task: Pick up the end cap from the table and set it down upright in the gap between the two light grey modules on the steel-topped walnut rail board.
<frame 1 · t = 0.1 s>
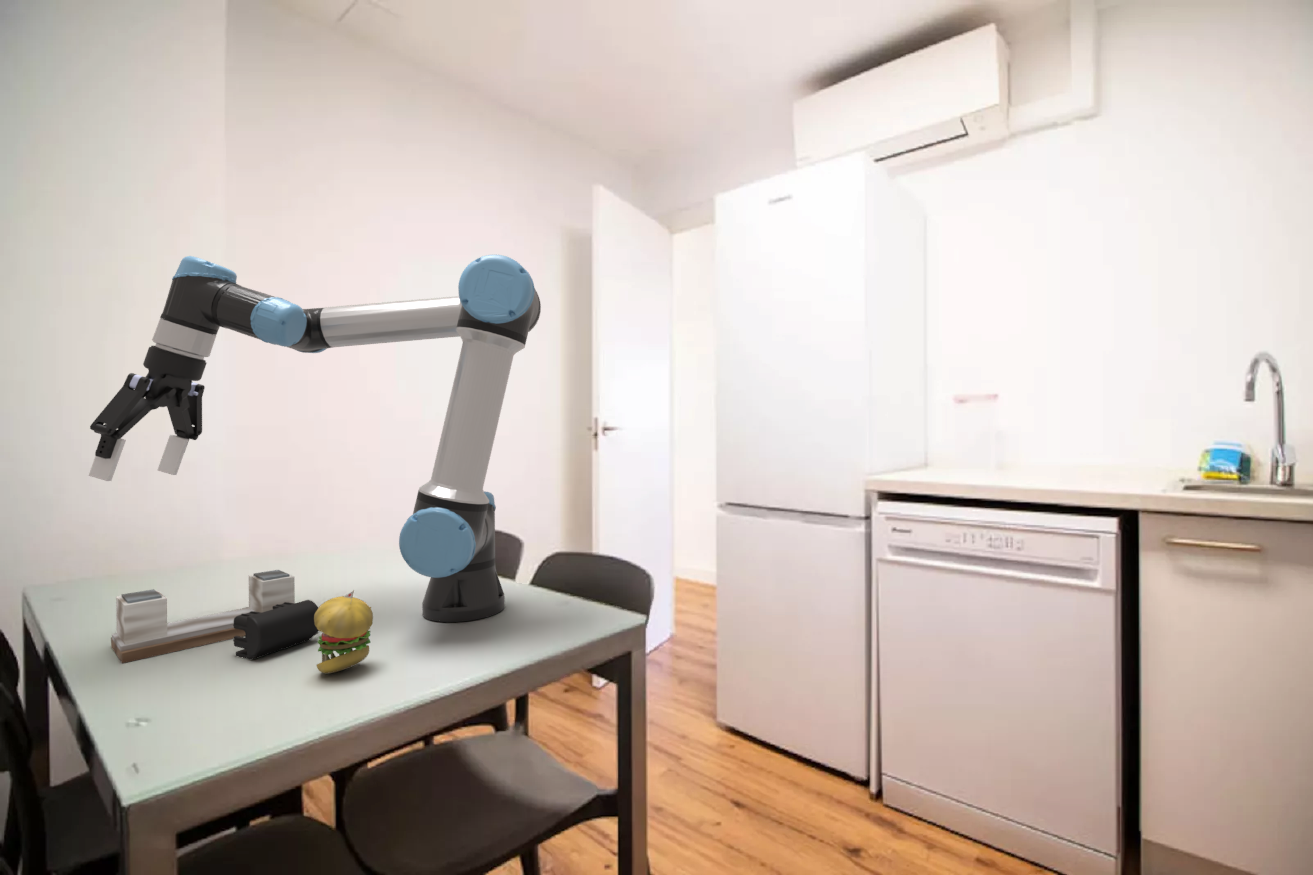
hand: (135, 475, 94), 28 cm above the table, tool tilted 20°, fingers open, 13 cm apart
hamburger: (344, 673, 83), on the table
end cap: (278, 650, 92), on the table
rail board: (211, 634, 99), on the table
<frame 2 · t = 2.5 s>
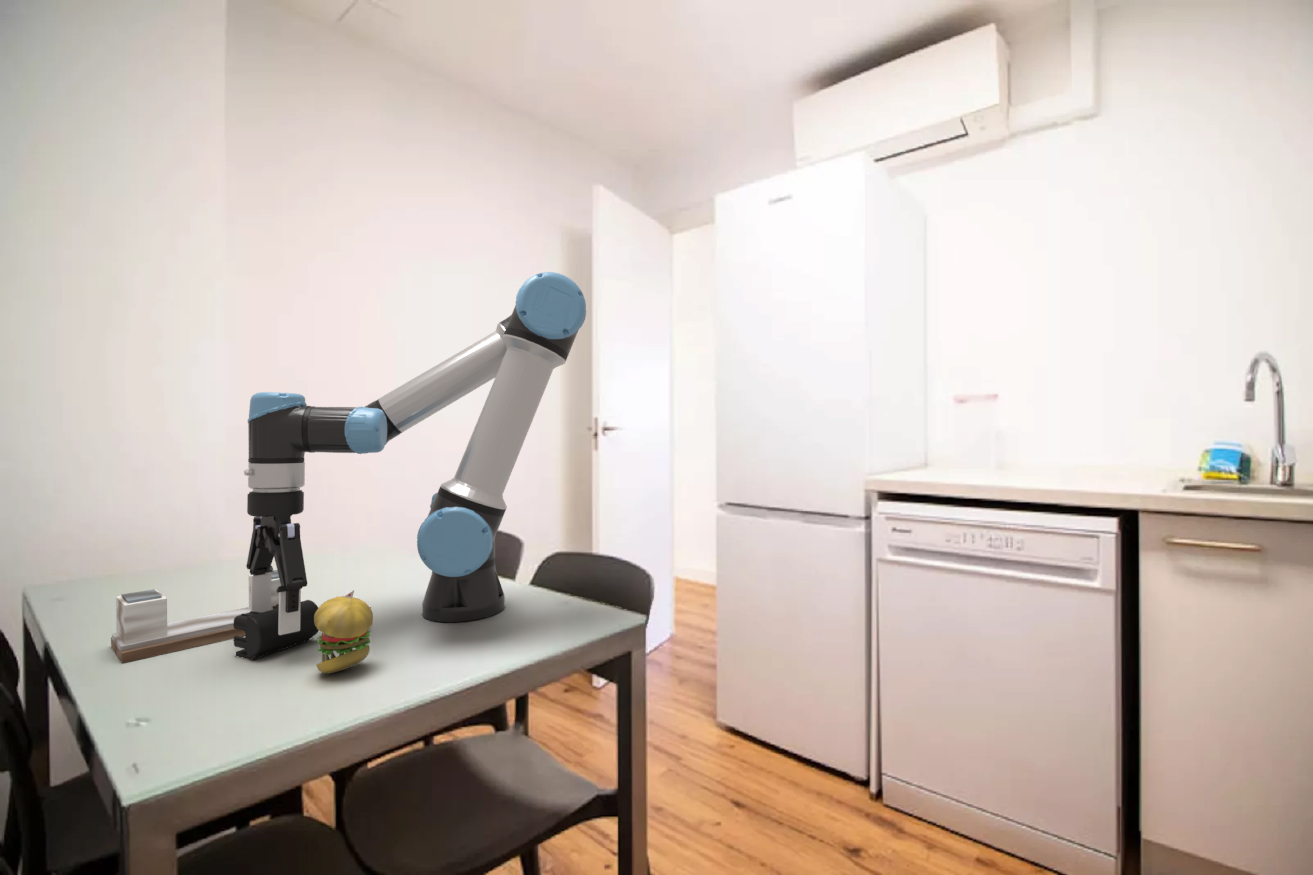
hand: (274, 623, 92), 4 cm above the table, tool pointing down, fingers open, 13 cm apart
nothing on the table moved.
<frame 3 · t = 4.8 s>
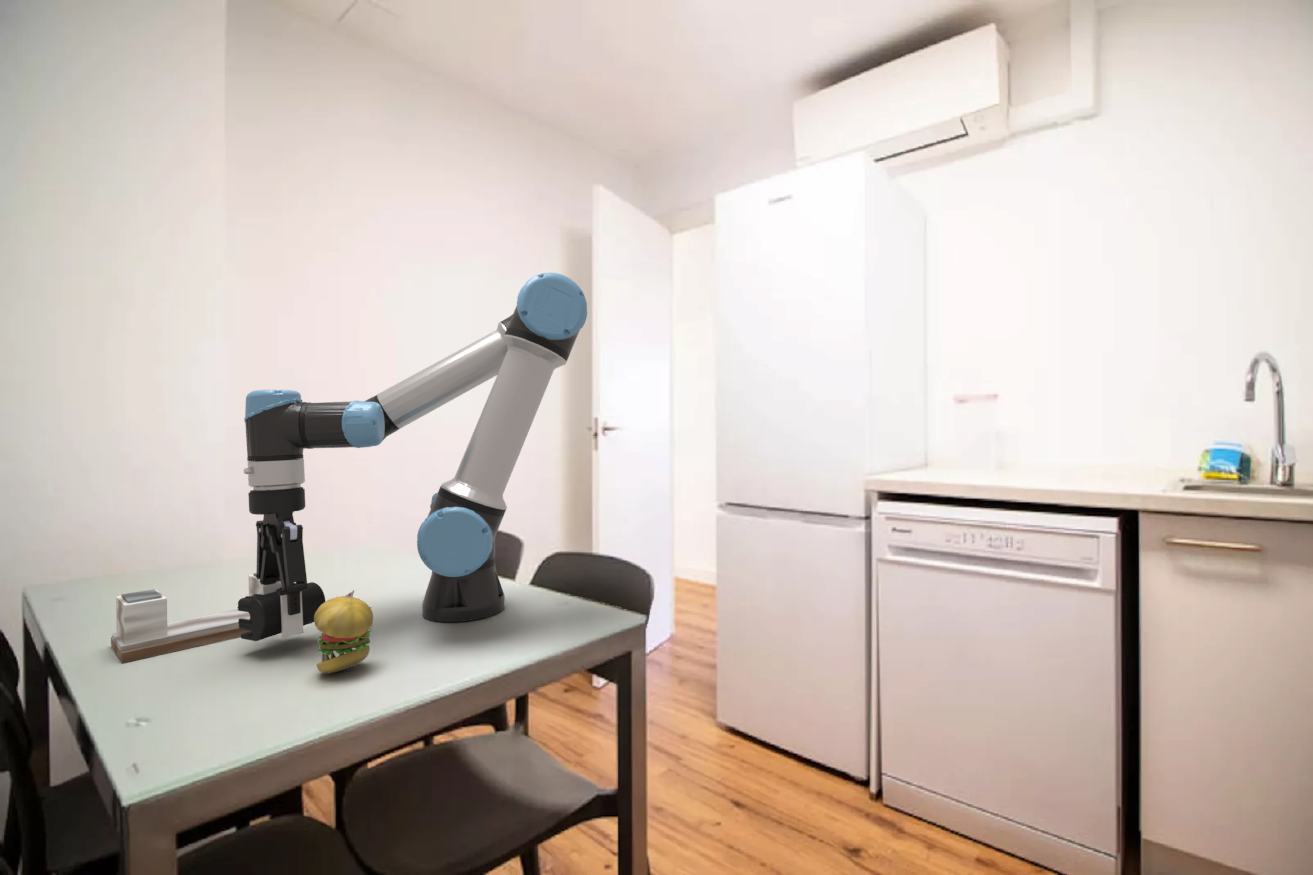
hand: (282, 628, 92), 3 cm above the table, tool pointing down, fingers closed on end cap, 8 cm apart
end cap: (283, 632, 92), point 2 cm above the table, touching gripper
everything else where it was.
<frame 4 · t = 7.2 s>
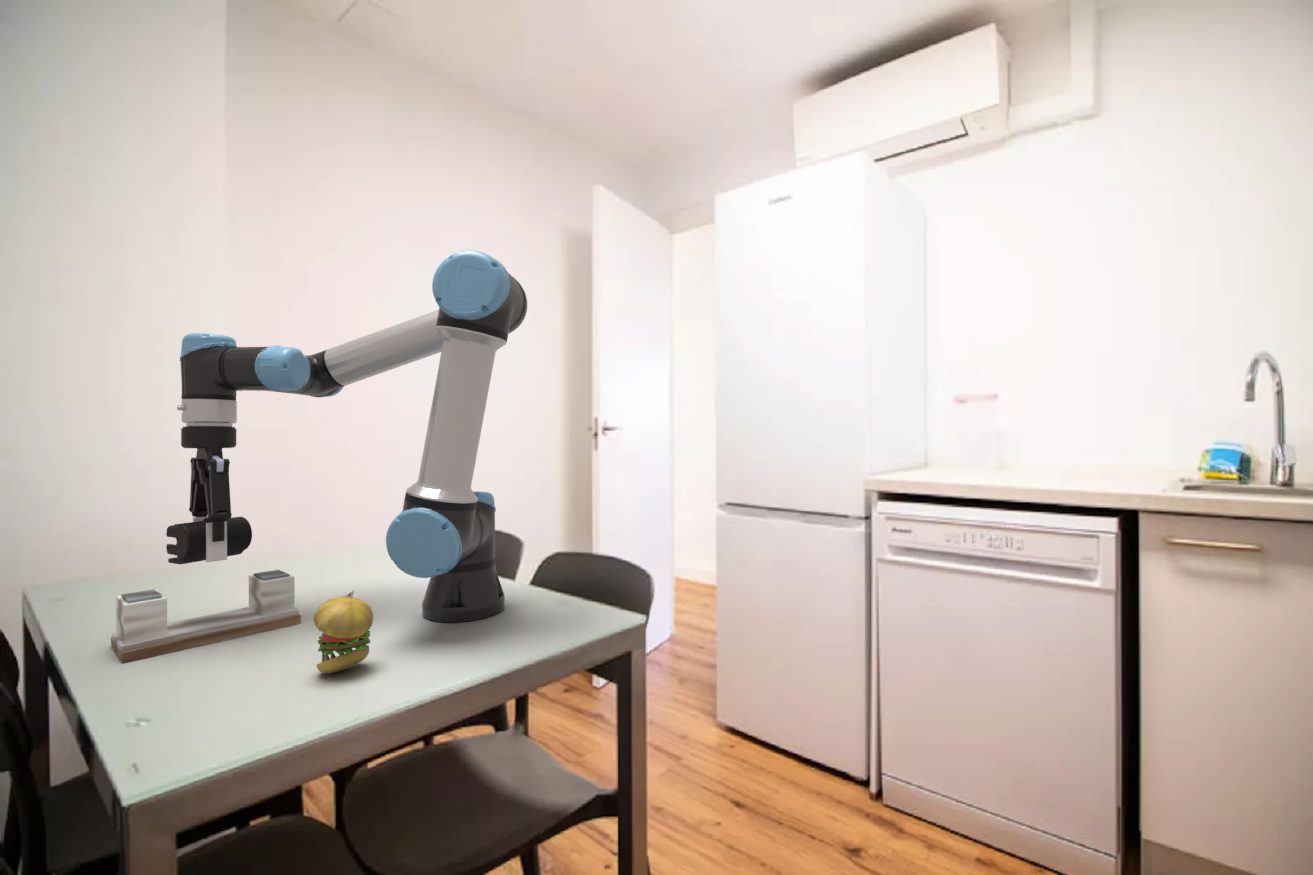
hand: (209, 557, 99), 13 cm above the table, tool pointing down, fingers closed on end cap, 8 cm apart
end cap: (209, 560, 99), point 13 cm above the table, touching gripper
everything else where it was.
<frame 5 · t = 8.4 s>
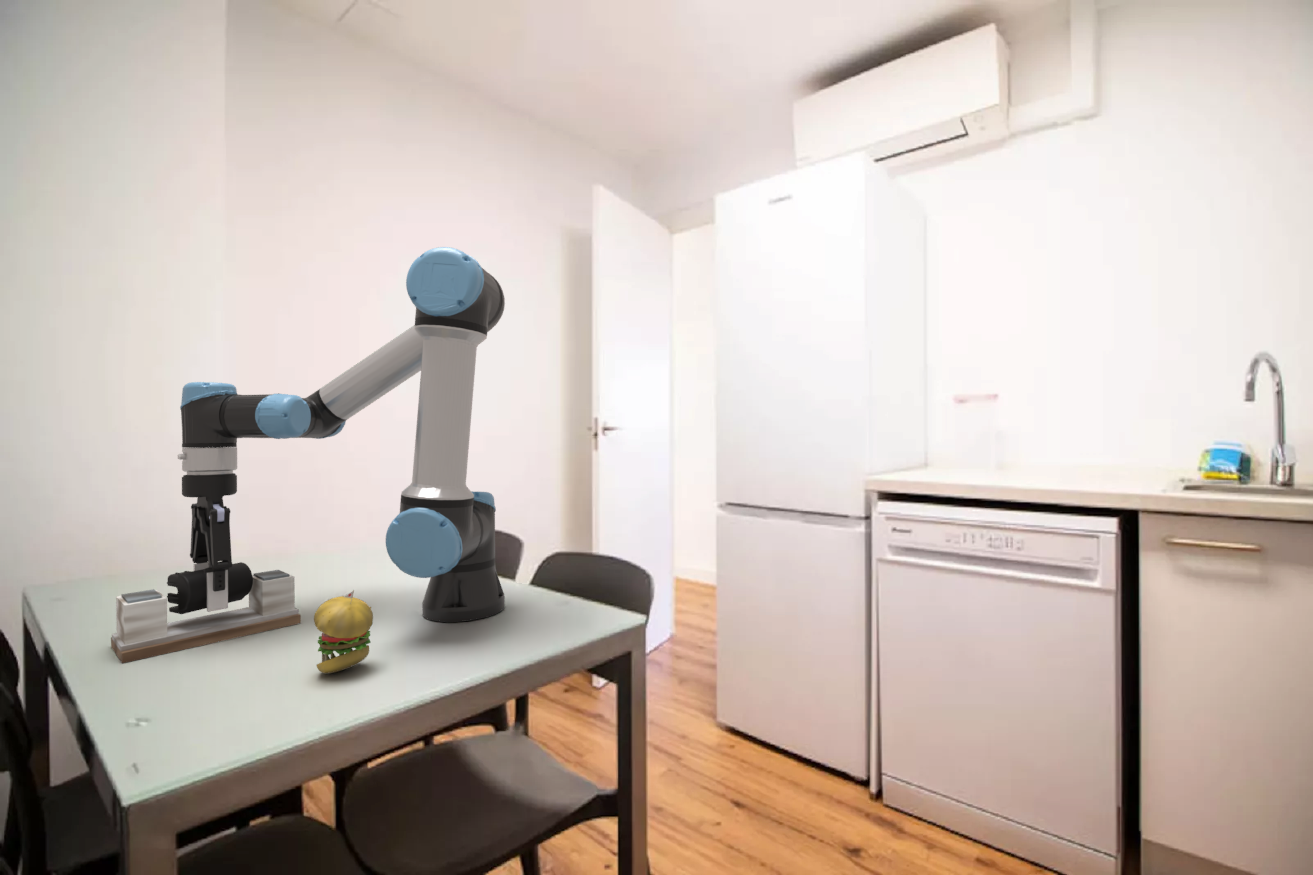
hand: (210, 604, 99), 5 cm above the table, tool pointing down, fingers closed on end cap, 8 cm apart
end cap: (210, 608, 99), point 5 cm above the table, touching gripper
everything else where it was.
when the fingers open (4 cm above the table, at t = 9.5 s): end cap drops 1 cm, resting on rail board.
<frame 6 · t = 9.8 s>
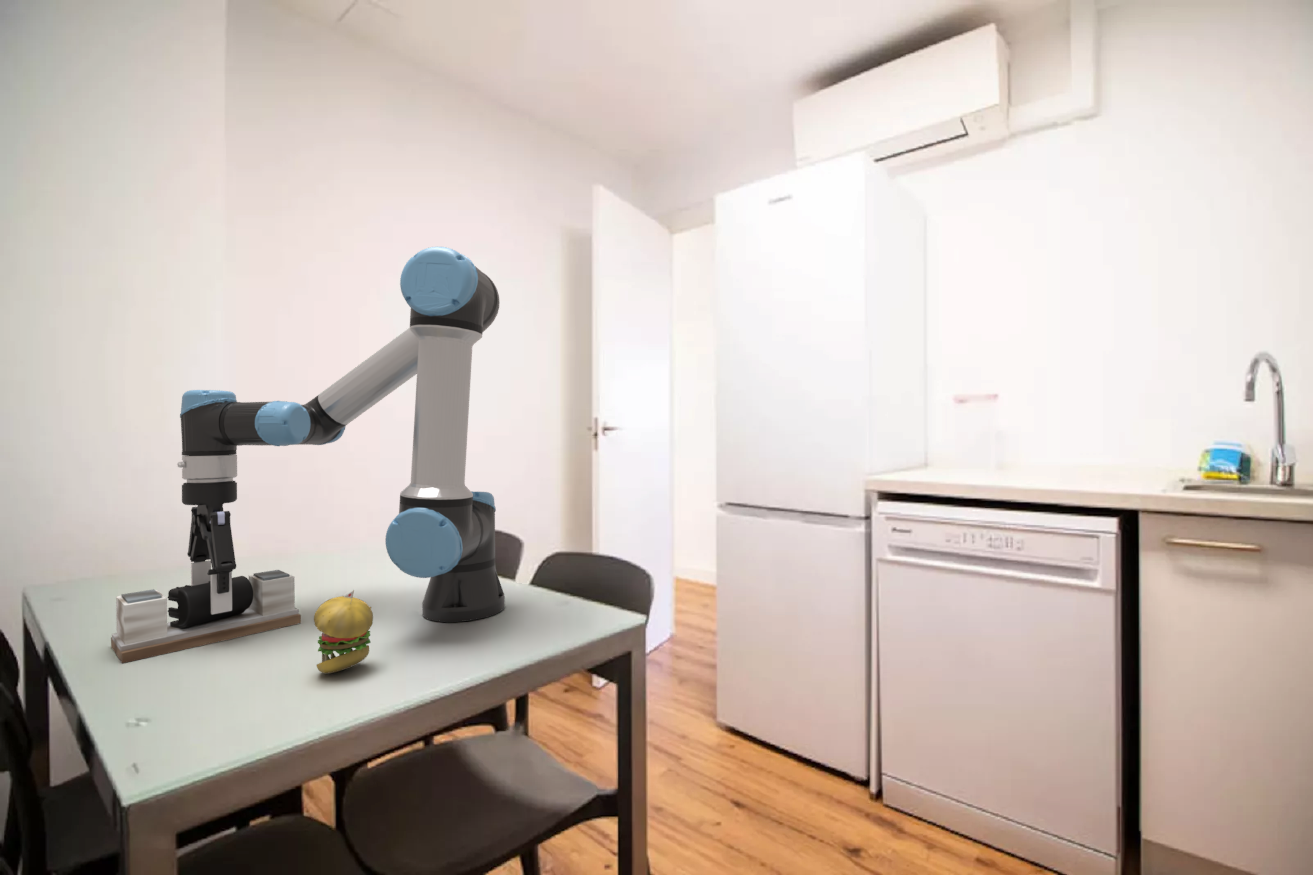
hand: (211, 605, 99), 5 cm above the table, tool pointing down, fingers open, 12 cm apart
end cap: (211, 622, 99), point 2 cm above the table, touching rail board
everything else where it was.
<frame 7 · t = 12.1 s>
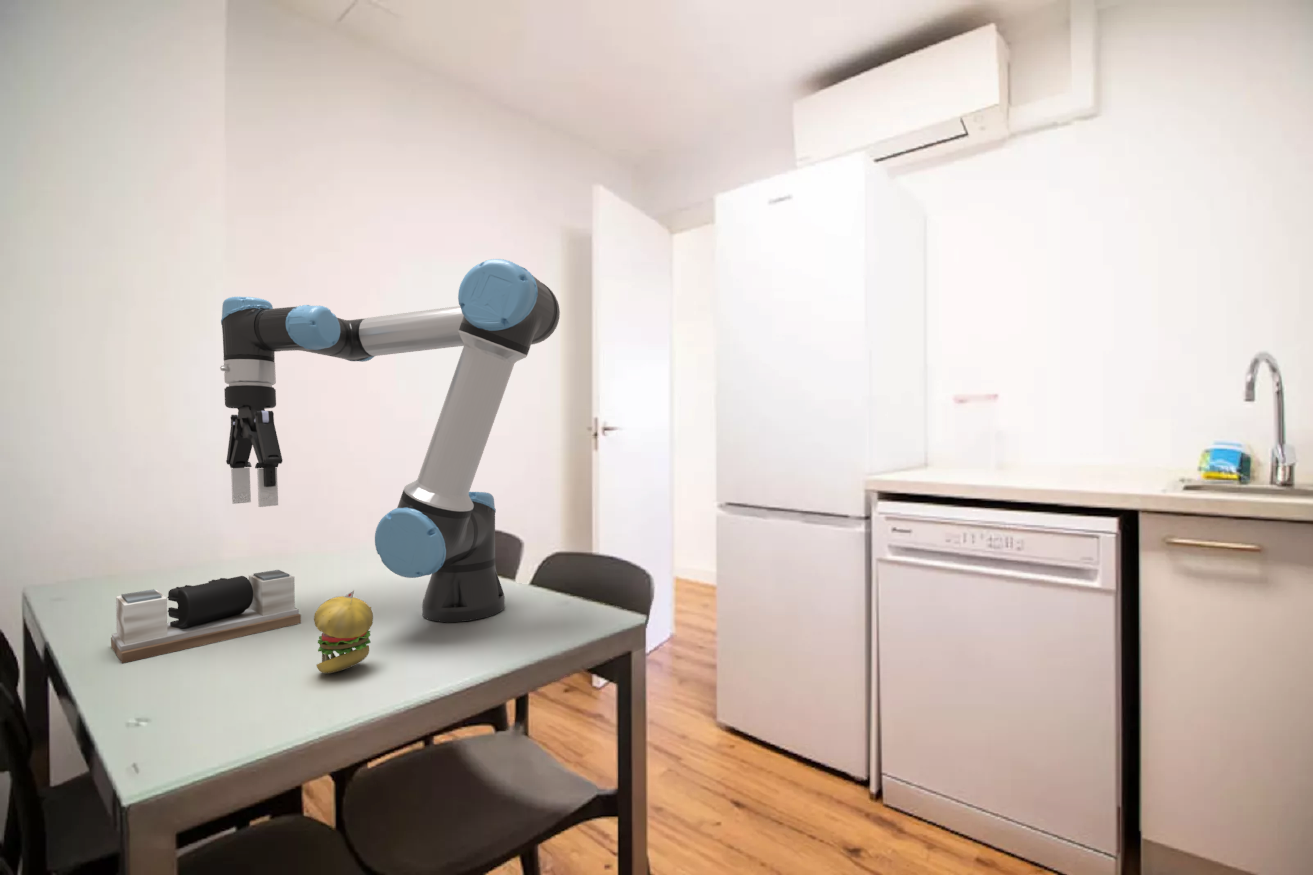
hand: (254, 504, 103), 22 cm above the table, tool pointing down, fingers open, 13 cm apart
nothing on the table moved.
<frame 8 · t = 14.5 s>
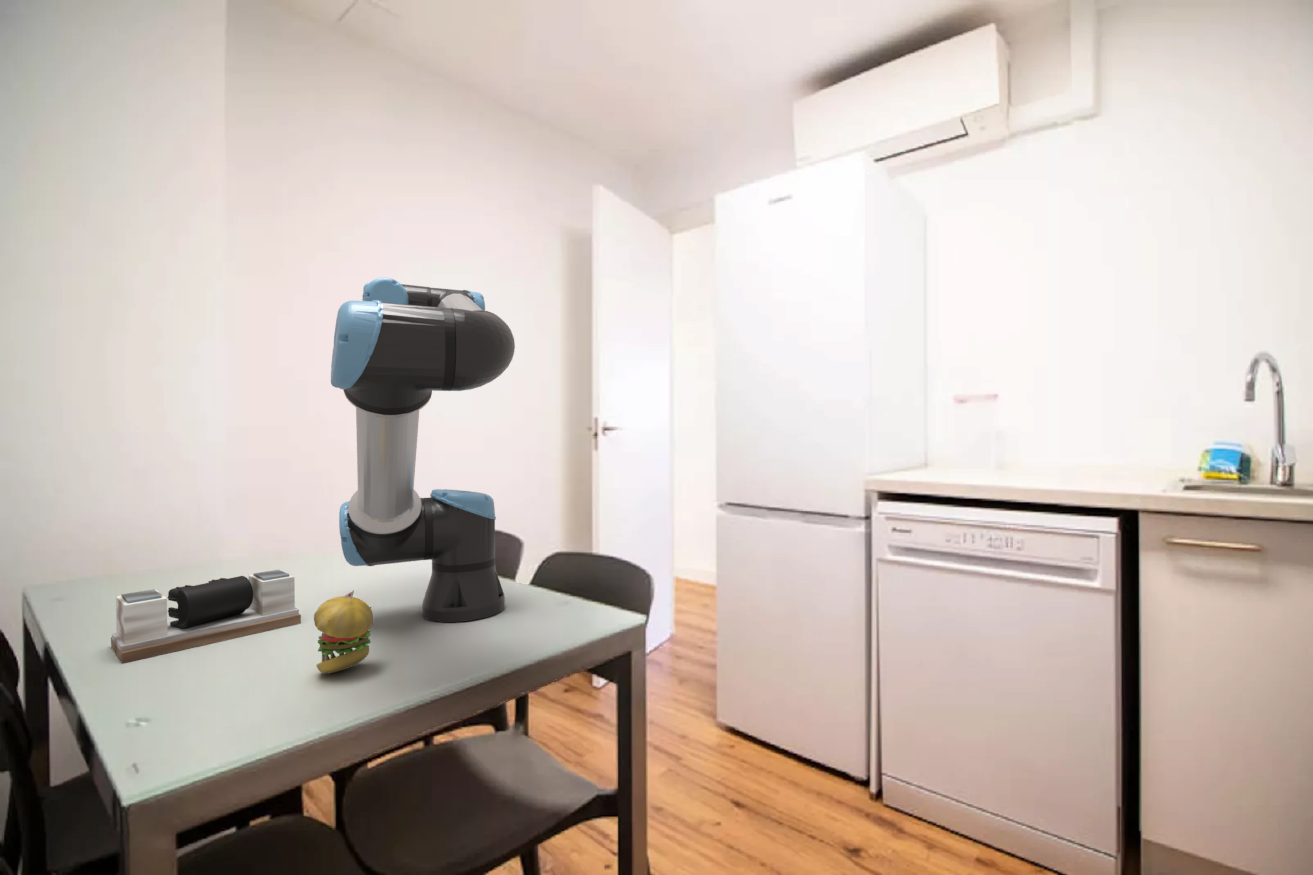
hand: (384, 461, 120), 29 cm above the table, tool pointing down, fingers open, 13 cm apart
nothing on the table moved.
at the end: end cap 0.0 cm off-centre on the rail board, point 2.1 cm above the rail board's base; end cap tilted 0°; the gripper is holding nothing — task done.
